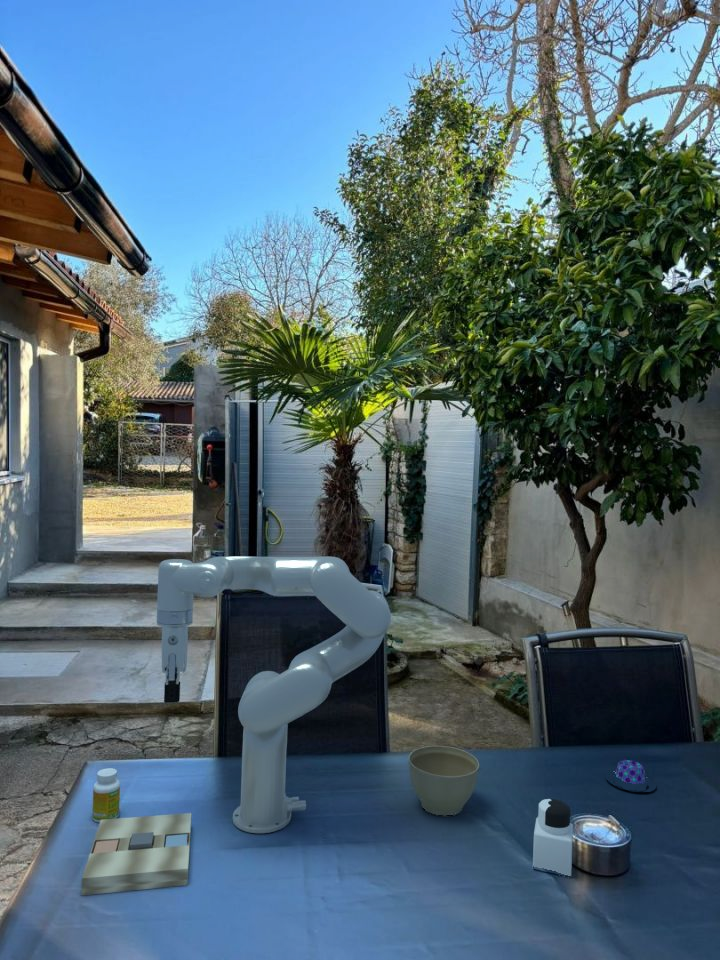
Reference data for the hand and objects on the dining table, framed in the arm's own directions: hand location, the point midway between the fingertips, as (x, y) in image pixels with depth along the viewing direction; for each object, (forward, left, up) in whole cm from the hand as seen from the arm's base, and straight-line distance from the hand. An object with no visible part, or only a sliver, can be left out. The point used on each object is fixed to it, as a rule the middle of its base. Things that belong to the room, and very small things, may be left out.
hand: (171, 701), depth 142 cm
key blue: (-2, +15, -24) cm, 28 cm away
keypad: (+4, +15, -25) cm, 30 cm away
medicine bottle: (-75, +30, -25) cm, 85 cm away
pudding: (-113, +1, -26) cm, 116 cm away
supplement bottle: (+13, -2, -25) cm, 29 cm away
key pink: (+11, +15, -24) cm, 30 cm away
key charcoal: (+4, +15, -23) cm, 28 cm away
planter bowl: (-61, +5, -25) cm, 66 cm away
